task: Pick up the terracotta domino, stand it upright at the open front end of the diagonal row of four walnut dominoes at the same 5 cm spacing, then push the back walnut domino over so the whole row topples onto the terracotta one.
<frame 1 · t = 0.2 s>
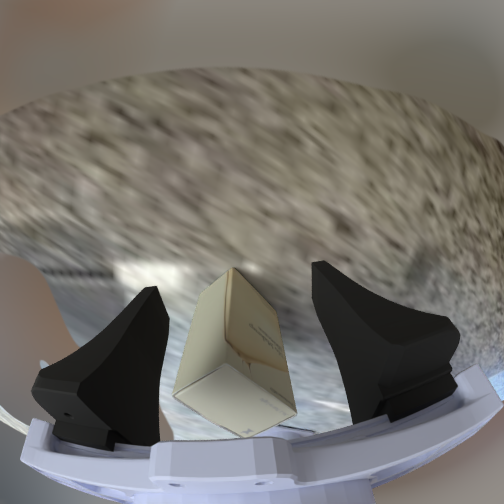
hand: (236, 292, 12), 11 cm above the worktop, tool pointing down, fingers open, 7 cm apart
skincare box: (236, 302, 25), on the worktop
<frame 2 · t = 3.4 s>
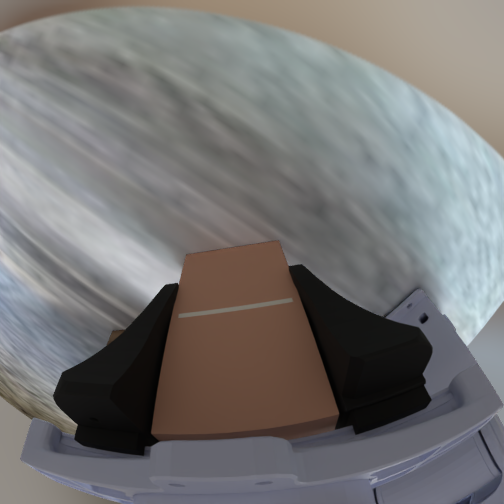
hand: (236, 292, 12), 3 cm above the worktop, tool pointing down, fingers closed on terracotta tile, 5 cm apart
terracotta tile: (234, 260, 15), on the worktop, touching gripper
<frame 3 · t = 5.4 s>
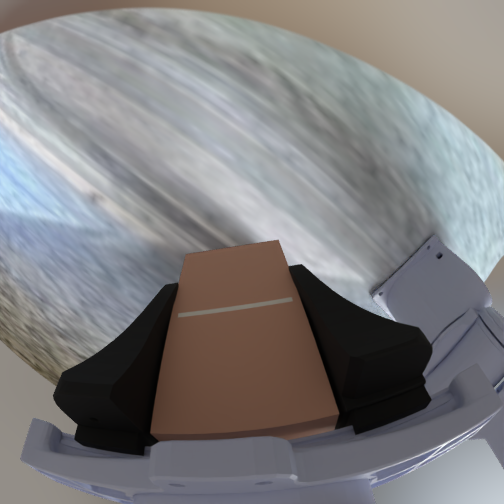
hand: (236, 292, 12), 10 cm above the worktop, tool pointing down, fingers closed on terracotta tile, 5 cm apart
terracotta tile: (234, 259, 15), point 7 cm above the worktop, touching gripper
when the fingers open (4 cm above the worktop, at t = 7.3 s): terracotta tile drops 1 cm, on the worktop.
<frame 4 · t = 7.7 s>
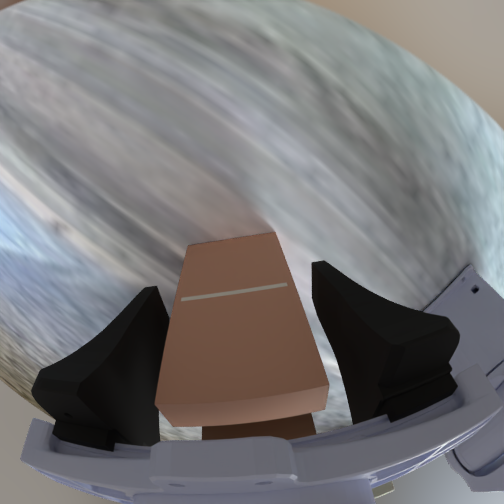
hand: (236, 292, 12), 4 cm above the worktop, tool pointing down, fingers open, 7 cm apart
walnut tile 4: (246, 315, 18), on the worktop
skincare box: (360, 433, 33), on the worktop
terracotta tile: (233, 251, 16), on the worktop
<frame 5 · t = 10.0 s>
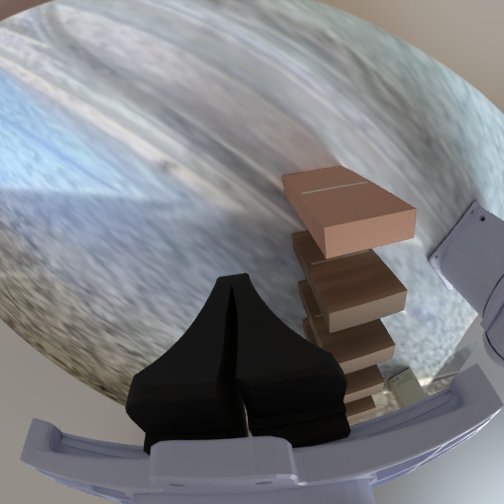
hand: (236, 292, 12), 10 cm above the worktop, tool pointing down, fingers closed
walnut tile 2: (325, 319, 28), on the worktop
walnut tile 4: (320, 236, 23), on the worktop
walnut tile 3: (324, 282, 26), on the worktop
skincare box: (400, 378, 38), on the worktop
walnut tile 1: (326, 348, 30), on the worktop
terracotta tile: (314, 180, 21), on the worktop
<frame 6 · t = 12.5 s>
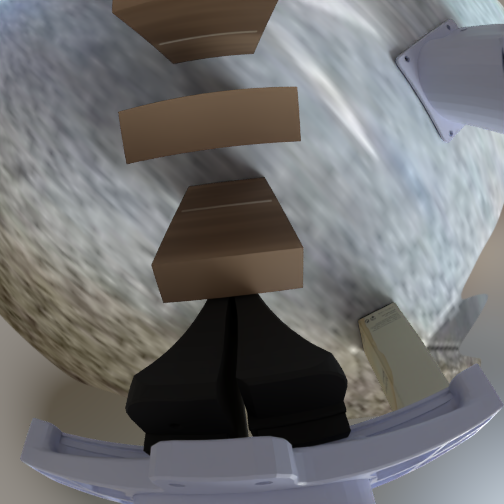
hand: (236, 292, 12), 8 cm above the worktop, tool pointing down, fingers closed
walnut tile 2: (219, 118, 15), on the worktop
walnut tile 3: (212, 46, 13), on the worktop
skincare box: (378, 327, 26), on the worktop
walnut tile 1: (228, 192, 18), on the worktop, touching gripper
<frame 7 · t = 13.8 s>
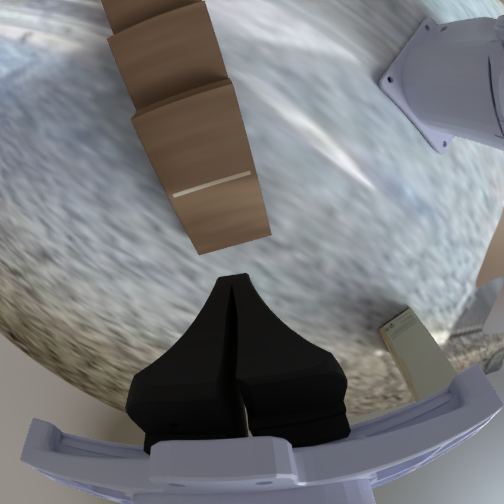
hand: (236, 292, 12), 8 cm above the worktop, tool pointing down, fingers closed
walnut tile 2: (211, 168, 16), point 1 cm above the worktop, tilted 71°, touching walnut tile 1, walnut tile 3
walnut tile 3: (186, 94, 14), point 1 cm above the worktop, tilted 71°, touching walnut tile 2, walnut tile 4
skincare box: (399, 330, 27), on the worktop
walnut tile 1: (233, 236, 19), point 1 cm above the worktop, tilted 71°, touching walnut tile 2
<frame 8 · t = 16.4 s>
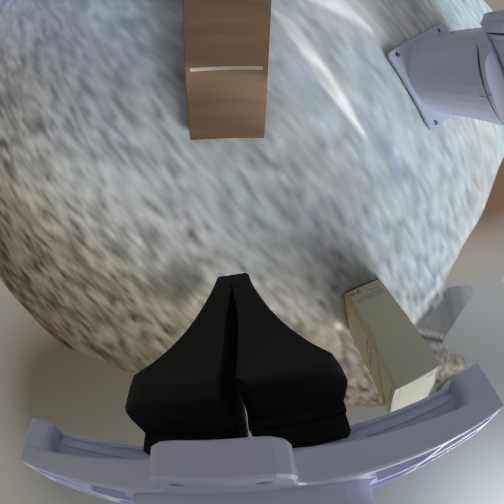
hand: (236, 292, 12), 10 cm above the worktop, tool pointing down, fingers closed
skincare box: (363, 304, 28), on the worktop
walnut tile 1: (227, 133, 18), point 1 cm above the worktop, tilted 71°, touching walnut tile 2
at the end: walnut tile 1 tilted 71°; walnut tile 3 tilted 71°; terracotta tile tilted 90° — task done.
